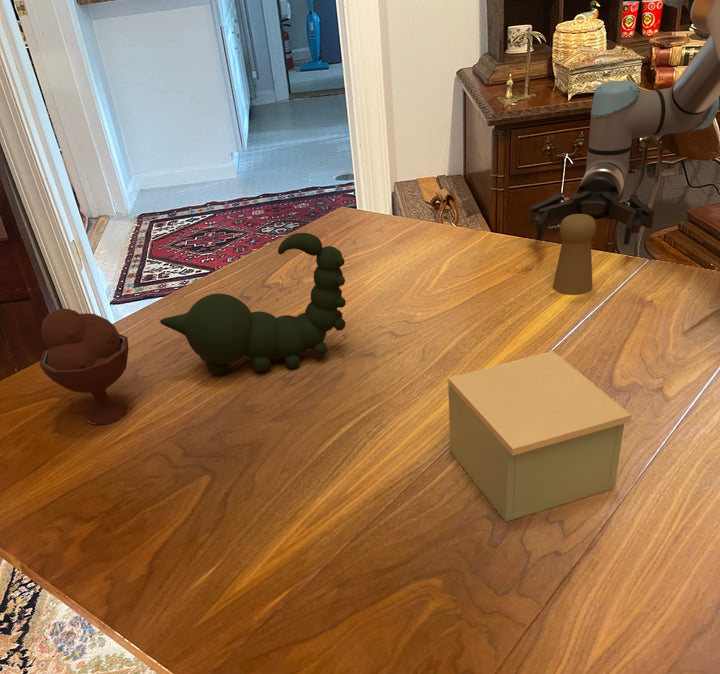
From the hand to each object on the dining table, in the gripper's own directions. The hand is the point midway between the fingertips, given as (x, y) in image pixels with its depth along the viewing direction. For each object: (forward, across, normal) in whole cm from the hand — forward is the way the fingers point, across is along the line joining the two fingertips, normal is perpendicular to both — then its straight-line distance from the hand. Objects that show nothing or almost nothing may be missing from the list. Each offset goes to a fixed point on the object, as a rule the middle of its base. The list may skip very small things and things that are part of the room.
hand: (582, 234), depth 117 cm
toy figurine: (+40, +38, -6) cm, 55 cm away
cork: (+7, 0, -6) cm, 9 cm away
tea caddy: (+55, -2, -6) cm, 56 cm away
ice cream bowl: (+57, +53, -6) cm, 78 cm away
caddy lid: (+56, -3, +3) cm, 56 cm away
